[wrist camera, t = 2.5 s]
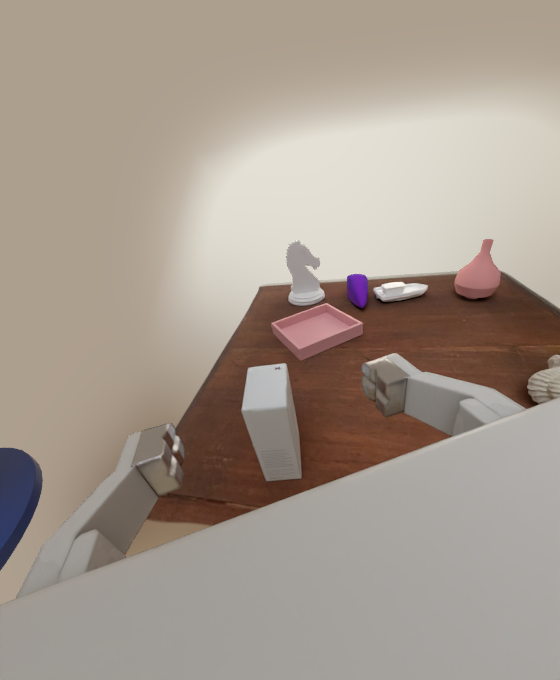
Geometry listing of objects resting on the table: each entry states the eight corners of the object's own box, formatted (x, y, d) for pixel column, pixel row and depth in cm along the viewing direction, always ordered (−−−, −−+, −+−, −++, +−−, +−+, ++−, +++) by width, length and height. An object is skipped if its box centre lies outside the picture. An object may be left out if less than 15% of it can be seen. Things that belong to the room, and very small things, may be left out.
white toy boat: (371, 295, 63) (372, 282, 61) (420, 288, 62) (422, 275, 61) (380, 305, 58) (381, 292, 56) (433, 298, 57) (436, 284, 55)
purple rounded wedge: (351, 298, 55) (344, 269, 66) (351, 317, 58) (344, 286, 69) (375, 296, 54) (363, 267, 65) (373, 315, 57) (362, 284, 68)
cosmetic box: (267, 436, 33) (247, 365, 26) (299, 433, 33) (287, 361, 26) (264, 483, 28) (239, 410, 21) (302, 481, 27) (288, 405, 21)
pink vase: (443, 296, 57) (455, 242, 51) (465, 287, 59) (479, 233, 53) (479, 308, 51) (498, 247, 45) (502, 296, 53) (523, 237, 47)
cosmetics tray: (300, 361, 45) (298, 349, 44) (272, 333, 55) (270, 322, 53) (362, 334, 49) (363, 323, 48) (327, 312, 59) (326, 302, 58)
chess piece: (327, 302, 63) (324, 241, 55) (289, 308, 64) (280, 248, 56) (321, 288, 72) (318, 233, 64) (287, 293, 72) (280, 239, 64)
